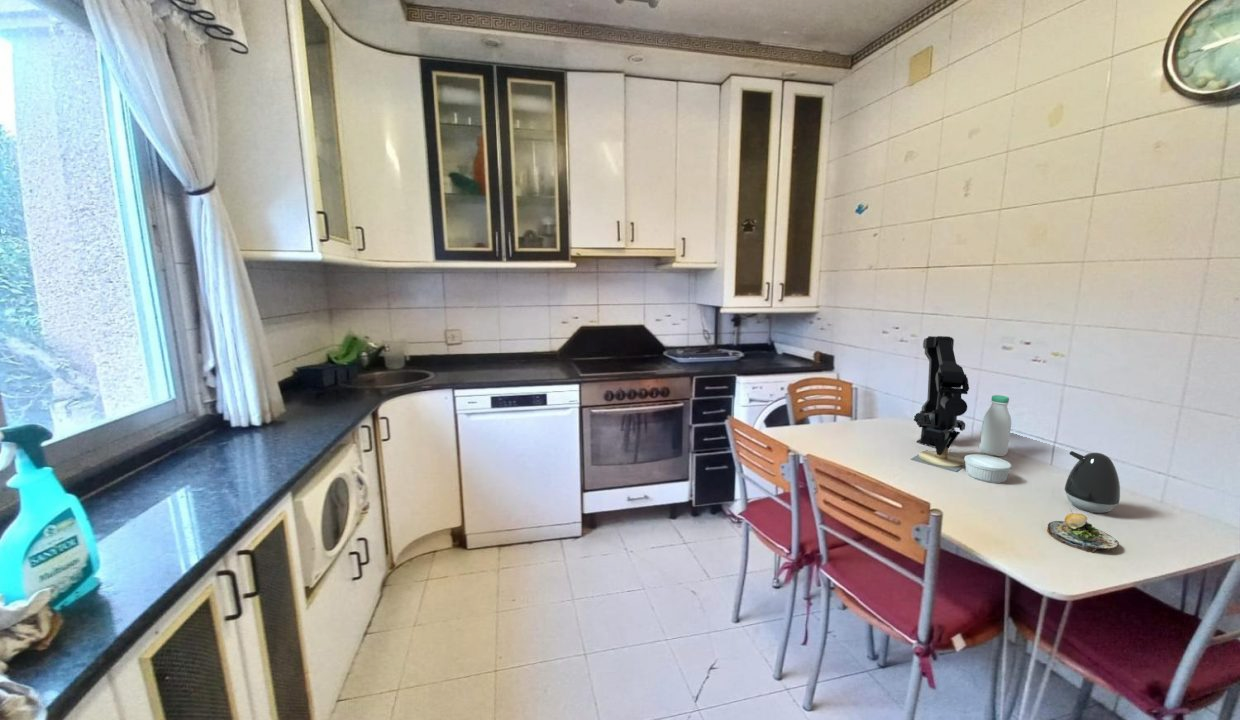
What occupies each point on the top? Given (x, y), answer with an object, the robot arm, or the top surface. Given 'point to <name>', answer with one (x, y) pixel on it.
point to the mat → (938, 466)
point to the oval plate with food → (1080, 534)
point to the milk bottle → (996, 428)
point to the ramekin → (987, 468)
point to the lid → (941, 458)
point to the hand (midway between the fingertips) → (941, 453)
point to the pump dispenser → (1093, 483)
